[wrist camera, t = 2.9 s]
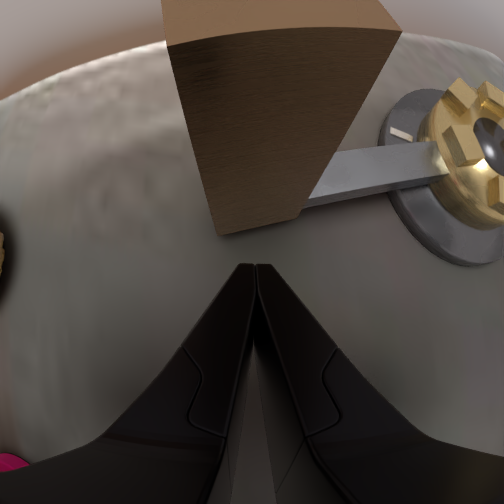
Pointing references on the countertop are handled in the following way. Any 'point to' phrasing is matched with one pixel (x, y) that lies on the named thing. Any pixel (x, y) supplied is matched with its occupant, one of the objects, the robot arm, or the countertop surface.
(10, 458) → the pepper mill
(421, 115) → the flange
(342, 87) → the crank handle
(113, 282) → the countertop surface
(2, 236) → the onion
